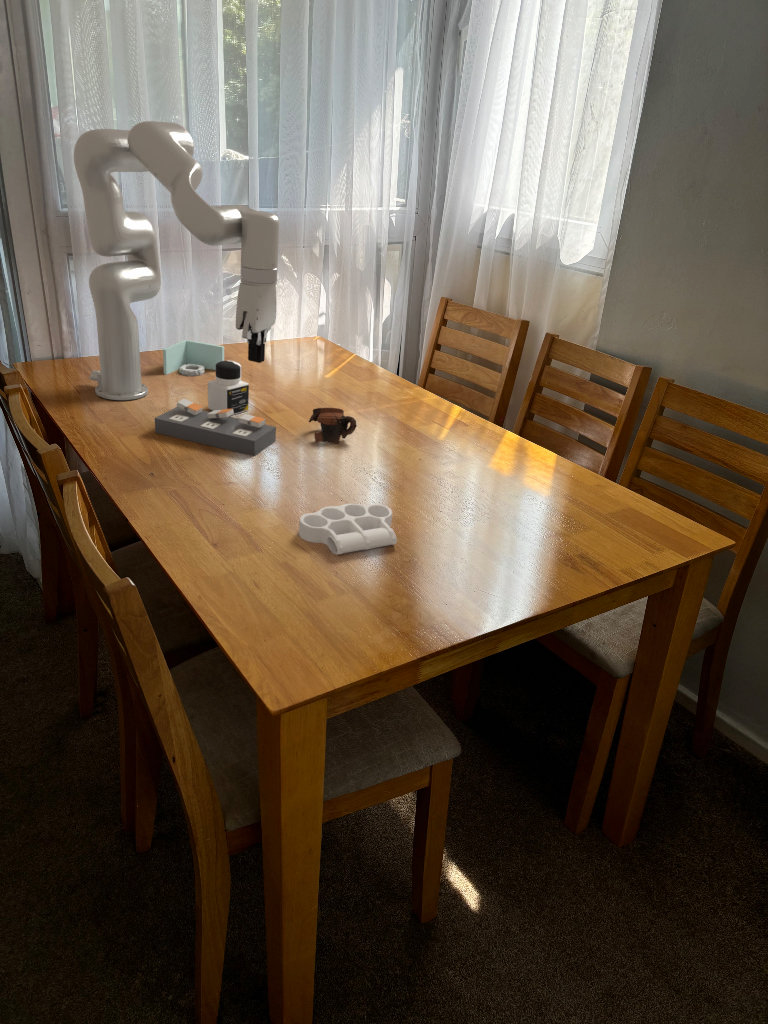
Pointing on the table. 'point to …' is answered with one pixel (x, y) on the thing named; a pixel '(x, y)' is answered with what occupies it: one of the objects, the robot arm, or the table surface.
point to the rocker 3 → (252, 420)
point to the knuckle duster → (349, 527)
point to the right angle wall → (192, 357)
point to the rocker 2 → (220, 413)
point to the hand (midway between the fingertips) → (256, 360)
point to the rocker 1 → (189, 406)
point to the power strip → (215, 431)
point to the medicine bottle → (228, 388)
